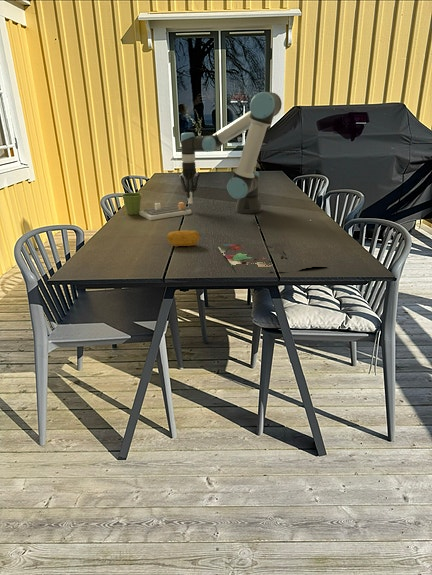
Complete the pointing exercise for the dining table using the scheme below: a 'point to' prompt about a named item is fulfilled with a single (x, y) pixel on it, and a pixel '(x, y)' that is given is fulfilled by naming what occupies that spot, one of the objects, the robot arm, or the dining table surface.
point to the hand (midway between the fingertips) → (190, 203)
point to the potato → (183, 238)
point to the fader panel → (163, 212)
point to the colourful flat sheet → (238, 255)
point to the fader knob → (181, 205)
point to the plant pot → (132, 202)
